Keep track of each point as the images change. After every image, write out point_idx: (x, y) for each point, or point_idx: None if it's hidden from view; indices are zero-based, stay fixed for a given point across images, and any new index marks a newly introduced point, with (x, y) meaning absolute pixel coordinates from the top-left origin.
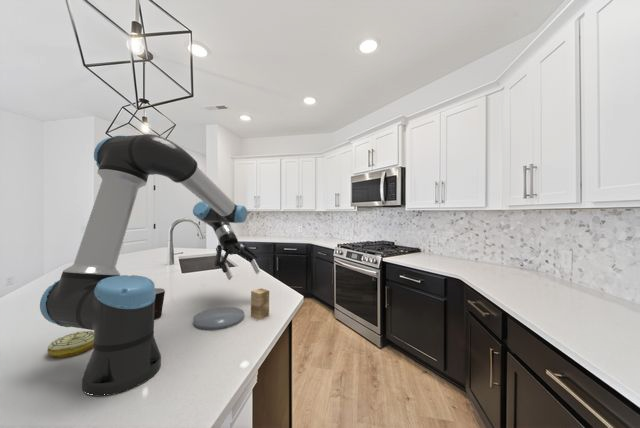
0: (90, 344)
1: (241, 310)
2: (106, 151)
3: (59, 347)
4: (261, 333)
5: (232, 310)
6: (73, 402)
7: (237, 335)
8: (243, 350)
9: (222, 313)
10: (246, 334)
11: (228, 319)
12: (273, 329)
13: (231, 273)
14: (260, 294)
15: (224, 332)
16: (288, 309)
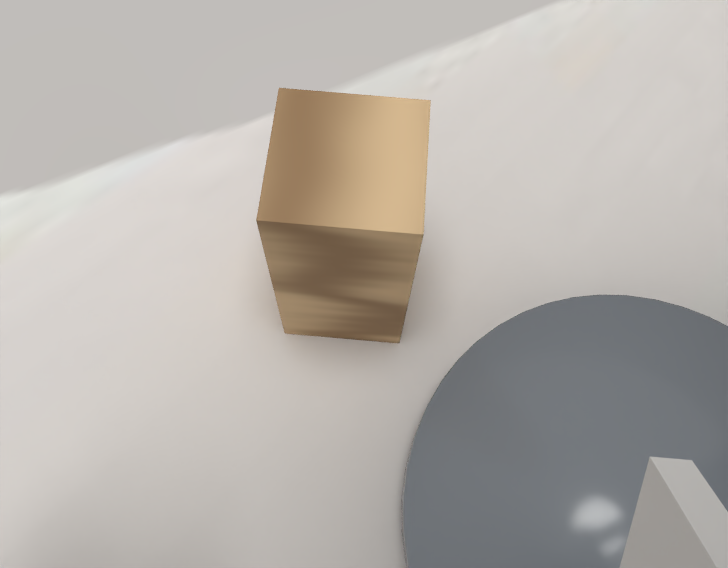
0: None
1: (426, 443)
2: None
3: None
4: (532, 88)
5: (487, 521)
6: None
7: (657, 176)
8: (714, 38)
9: (601, 536)
10: (607, 145)
11: (628, 363)
12: (445, 70)
13: (683, 503)
14: (409, 108)
15: (704, 273)
16: (91, 199)
